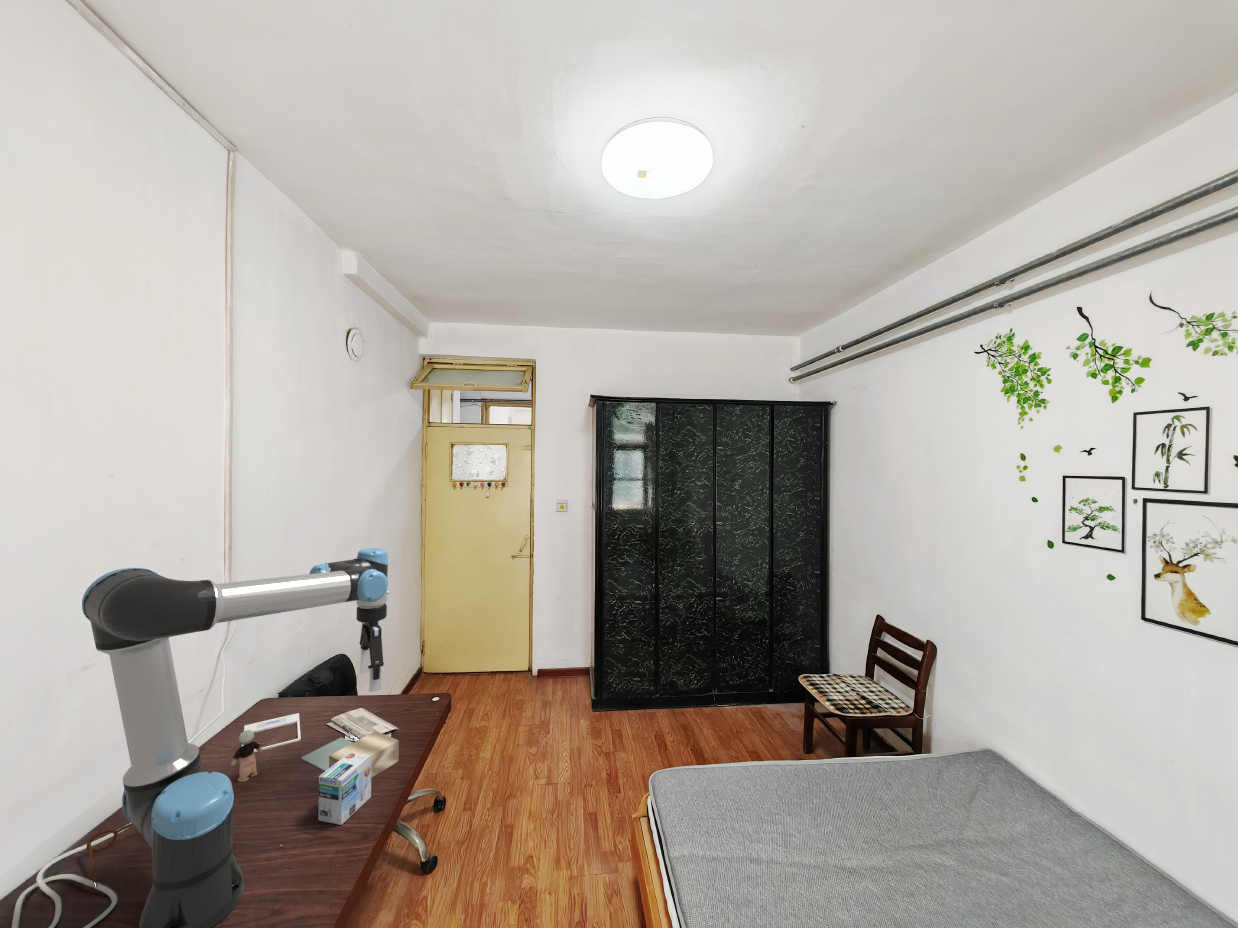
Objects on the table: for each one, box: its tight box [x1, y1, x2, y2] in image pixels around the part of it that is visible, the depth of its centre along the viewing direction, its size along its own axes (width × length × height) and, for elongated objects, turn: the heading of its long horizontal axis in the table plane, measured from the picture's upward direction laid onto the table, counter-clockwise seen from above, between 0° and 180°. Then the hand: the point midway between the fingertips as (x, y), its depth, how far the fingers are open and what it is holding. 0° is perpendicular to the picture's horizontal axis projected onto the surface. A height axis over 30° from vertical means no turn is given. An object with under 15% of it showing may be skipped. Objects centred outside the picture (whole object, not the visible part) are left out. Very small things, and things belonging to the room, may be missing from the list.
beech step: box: [329, 731, 400, 779], centre depth 139 cm, size 14×10×6 cm
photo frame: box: [241, 712, 302, 753], centre depth 155 cm, size 15×1×18 cm
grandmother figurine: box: [230, 730, 264, 783], centre depth 134 cm, size 8×4×13 cm, turn 168°
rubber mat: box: [300, 736, 354, 772], centre depth 145 cm, size 12×14×1 cm
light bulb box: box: [317, 752, 372, 826], centre depth 123 cm, size 11×7×11 cm, turn 168°
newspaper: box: [326, 707, 400, 739], centre depth 160 cm, size 23×12×2 cm, turn 55°
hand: (370, 681), depth 139 cm, fingers open, 13 cm apart
